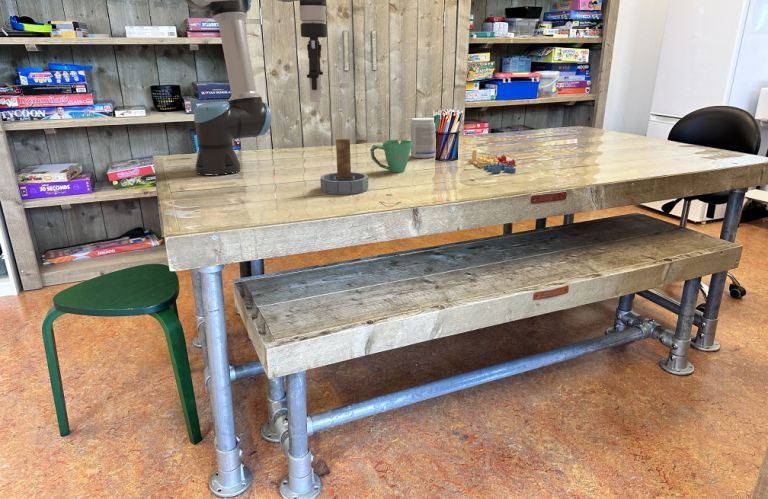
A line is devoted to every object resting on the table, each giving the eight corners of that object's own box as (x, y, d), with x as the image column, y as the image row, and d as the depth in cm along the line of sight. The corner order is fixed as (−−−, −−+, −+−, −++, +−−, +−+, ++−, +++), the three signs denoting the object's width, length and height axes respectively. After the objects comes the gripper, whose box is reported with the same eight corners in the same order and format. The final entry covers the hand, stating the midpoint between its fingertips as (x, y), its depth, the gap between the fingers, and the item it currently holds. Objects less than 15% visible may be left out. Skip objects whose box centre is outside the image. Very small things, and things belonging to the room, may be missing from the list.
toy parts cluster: (451, 153, 221) (451, 140, 219) (483, 152, 223) (484, 139, 222) (491, 176, 179) (492, 160, 178) (531, 173, 182) (532, 158, 180)
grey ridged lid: (320, 195, 155) (319, 182, 153) (322, 184, 168) (321, 172, 167) (369, 194, 156) (368, 181, 154) (367, 183, 169) (366, 171, 167)
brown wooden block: (337, 187, 160) (335, 140, 156) (337, 186, 162) (336, 139, 158) (351, 187, 161) (349, 139, 156) (351, 185, 163) (349, 138, 158)
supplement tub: (440, 156, 213) (440, 118, 208) (423, 159, 207) (424, 120, 202) (421, 153, 219) (422, 116, 214) (405, 156, 213) (405, 118, 208)
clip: (334, 188, 159) (333, 179, 158) (334, 185, 163) (333, 176, 162) (355, 188, 160) (354, 179, 159) (354, 184, 164) (354, 175, 163)
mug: (404, 167, 193) (404, 139, 189) (416, 172, 184) (416, 142, 181) (366, 170, 187) (365, 141, 184) (376, 176, 179) (375, 145, 175)
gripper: (325, 21, 143) (327, 103, 150) (327, 24, 166) (329, 95, 174) (296, 20, 142) (300, 103, 150) (303, 23, 165) (306, 95, 173)
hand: (316, 99), depth 162 cm, fingers open, 13 cm apart
